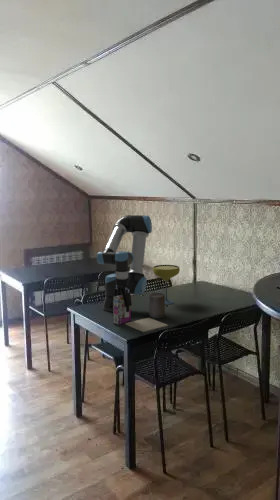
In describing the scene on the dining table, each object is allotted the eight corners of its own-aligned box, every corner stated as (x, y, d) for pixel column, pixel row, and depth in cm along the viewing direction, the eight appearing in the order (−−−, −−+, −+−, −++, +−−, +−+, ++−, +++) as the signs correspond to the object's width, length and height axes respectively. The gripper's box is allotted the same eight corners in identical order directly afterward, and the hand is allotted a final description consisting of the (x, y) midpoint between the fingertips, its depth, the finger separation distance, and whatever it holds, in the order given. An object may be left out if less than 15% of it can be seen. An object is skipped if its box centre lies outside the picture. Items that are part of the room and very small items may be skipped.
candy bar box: (119, 325, 260) (118, 298, 258) (113, 323, 263) (112, 296, 261) (131, 320, 269) (131, 294, 266) (125, 319, 272) (125, 293, 270)
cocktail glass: (154, 298, 319) (154, 264, 316) (180, 299, 317) (180, 264, 313) (151, 305, 302) (151, 269, 298) (178, 306, 299) (178, 269, 295)
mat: (124, 324, 262) (124, 323, 262) (149, 318, 273) (149, 317, 273) (143, 332, 248) (143, 331, 248) (167, 326, 259) (167, 325, 259)
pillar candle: (164, 313, 283) (163, 290, 281) (165, 318, 273) (165, 294, 271) (148, 314, 283) (148, 291, 280) (149, 318, 273) (149, 294, 271)
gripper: (106, 275, 268) (107, 312, 272) (127, 282, 251) (127, 320, 255) (117, 274, 273) (117, 309, 276) (137, 280, 256) (138, 318, 259)
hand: (122, 315), depth 266 cm, fingers open, 9 cm apart
